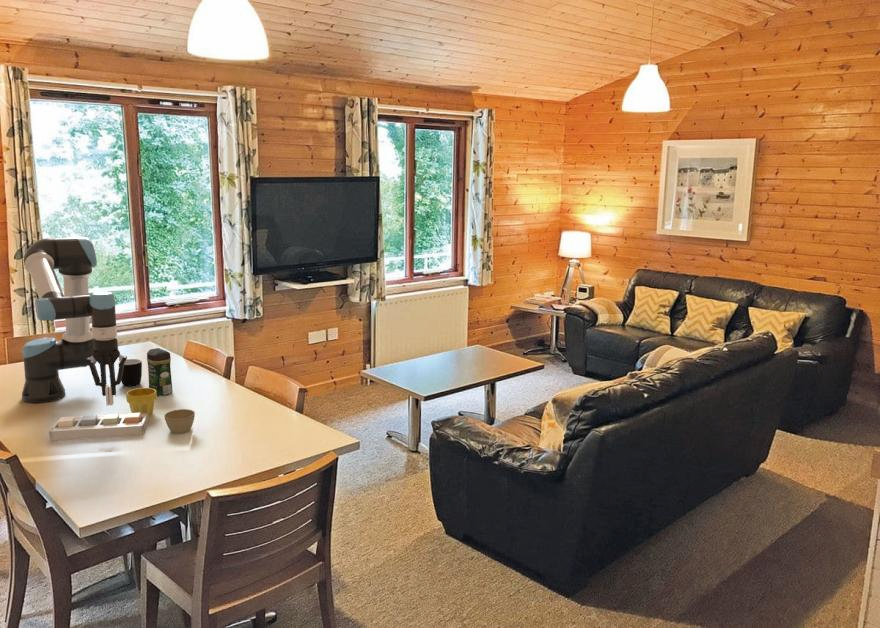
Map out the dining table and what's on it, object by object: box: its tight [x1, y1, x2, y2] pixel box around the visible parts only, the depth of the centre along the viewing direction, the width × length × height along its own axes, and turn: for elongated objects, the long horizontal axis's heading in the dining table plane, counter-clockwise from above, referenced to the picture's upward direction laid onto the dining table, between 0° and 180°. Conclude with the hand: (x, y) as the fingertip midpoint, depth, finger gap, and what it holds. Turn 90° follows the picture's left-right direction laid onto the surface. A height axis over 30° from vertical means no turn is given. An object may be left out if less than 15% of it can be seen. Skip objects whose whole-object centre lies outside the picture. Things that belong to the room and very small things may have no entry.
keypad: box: [48, 413, 149, 442], centre depth 246 cm, size 29×13×4 cm, turn 105°
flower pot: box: [163, 408, 196, 435], centre depth 248 cm, size 10×10×7 cm
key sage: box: [103, 413, 120, 425], centre depth 246 cm, size 4×4×2 cm
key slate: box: [80, 414, 98, 426], centre depth 245 cm, size 4×4×2 cm
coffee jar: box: [146, 347, 174, 397], centre depth 289 cm, size 10×8×19 cm
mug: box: [118, 358, 143, 388], centre depth 301 cm, size 12×9×10 cm
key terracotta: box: [125, 412, 141, 423], centre depth 248 cm, size 4×4×2 cm
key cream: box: [58, 416, 76, 428], centre depth 243 cm, size 4×4×2 cm
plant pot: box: [126, 387, 158, 417], centre depth 263 cm, size 10×10×10 cm
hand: (110, 404), depth 245 cm, fingers closed
